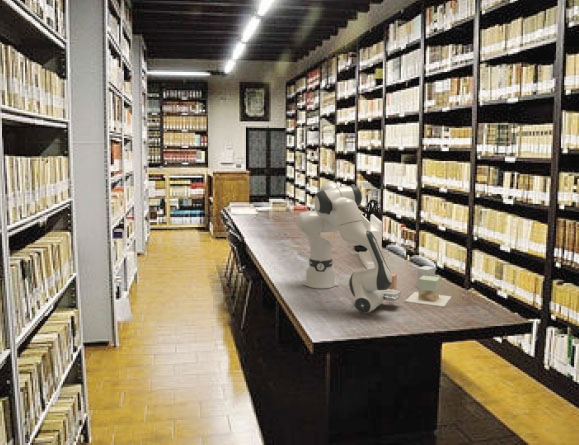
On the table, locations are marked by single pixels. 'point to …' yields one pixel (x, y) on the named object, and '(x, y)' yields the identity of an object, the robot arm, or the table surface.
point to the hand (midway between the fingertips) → (382, 289)
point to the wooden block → (428, 295)
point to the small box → (425, 273)
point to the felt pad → (440, 301)
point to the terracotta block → (394, 283)
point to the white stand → (376, 230)
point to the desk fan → (377, 212)
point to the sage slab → (429, 283)
